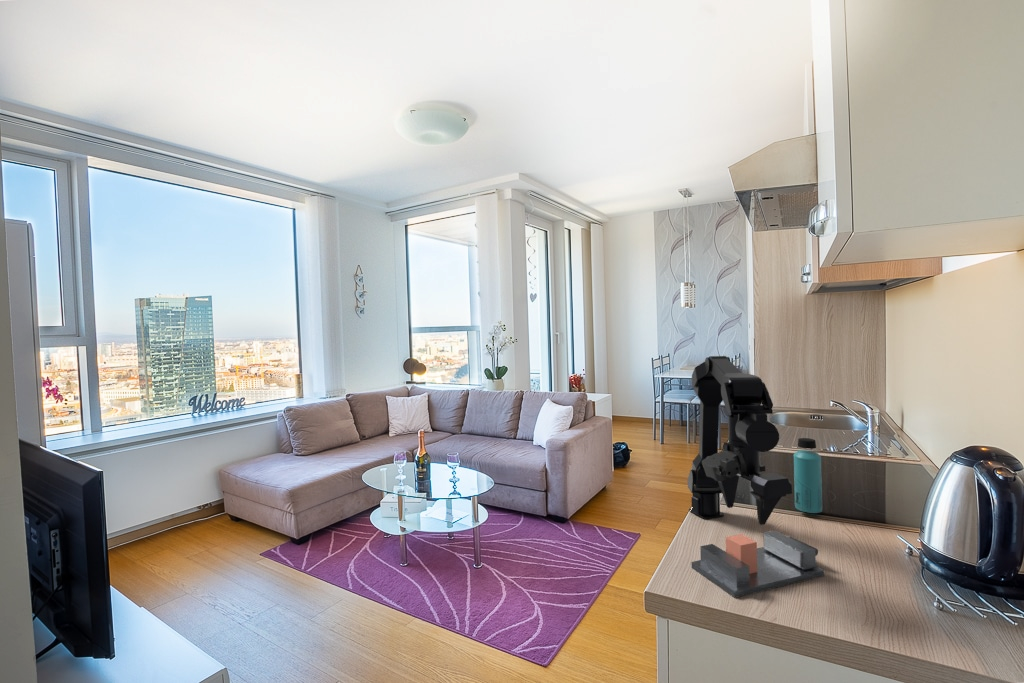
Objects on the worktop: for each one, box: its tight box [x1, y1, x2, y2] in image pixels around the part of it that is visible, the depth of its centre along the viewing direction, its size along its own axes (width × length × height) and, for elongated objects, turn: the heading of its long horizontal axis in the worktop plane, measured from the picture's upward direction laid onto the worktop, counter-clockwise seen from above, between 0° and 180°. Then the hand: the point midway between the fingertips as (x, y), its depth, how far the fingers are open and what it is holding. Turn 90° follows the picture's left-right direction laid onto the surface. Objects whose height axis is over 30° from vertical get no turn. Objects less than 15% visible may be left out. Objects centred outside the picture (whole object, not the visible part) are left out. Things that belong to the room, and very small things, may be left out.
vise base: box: [690, 543, 825, 599], centre depth 97 cm, size 22×12×5 cm, turn 108°
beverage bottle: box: [792, 437, 824, 514], centre depth 126 cm, size 6×7×20 cm
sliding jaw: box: [762, 529, 819, 570], centre depth 100 cm, size 6×10×4 cm, turn 18°
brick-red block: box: [725, 534, 758, 574], centre depth 96 cm, size 4×4×6 cm
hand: (745, 515), depth 97 cm, fingers open, 9 cm apart
